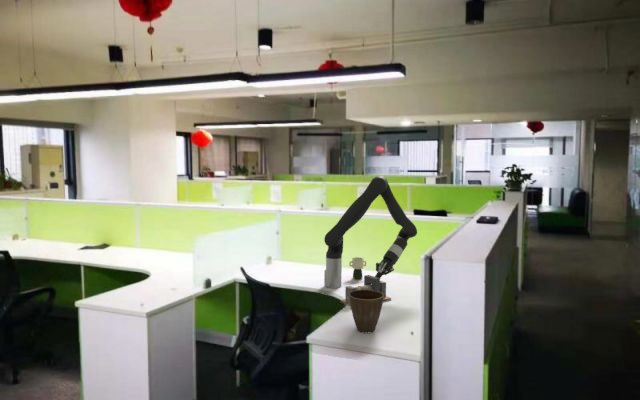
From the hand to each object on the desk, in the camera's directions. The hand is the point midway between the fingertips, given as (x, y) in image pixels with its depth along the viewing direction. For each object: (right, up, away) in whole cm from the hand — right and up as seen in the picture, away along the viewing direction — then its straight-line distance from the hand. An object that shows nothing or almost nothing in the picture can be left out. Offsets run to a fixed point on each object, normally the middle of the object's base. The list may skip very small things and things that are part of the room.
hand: (376, 279), depth 256 cm
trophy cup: (-6, -8, +46) cm, 47 cm away
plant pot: (-10, -15, -48) cm, 51 cm away
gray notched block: (-3, -7, -1) cm, 8 cm away
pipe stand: (-6, -11, -3) cm, 13 cm away
